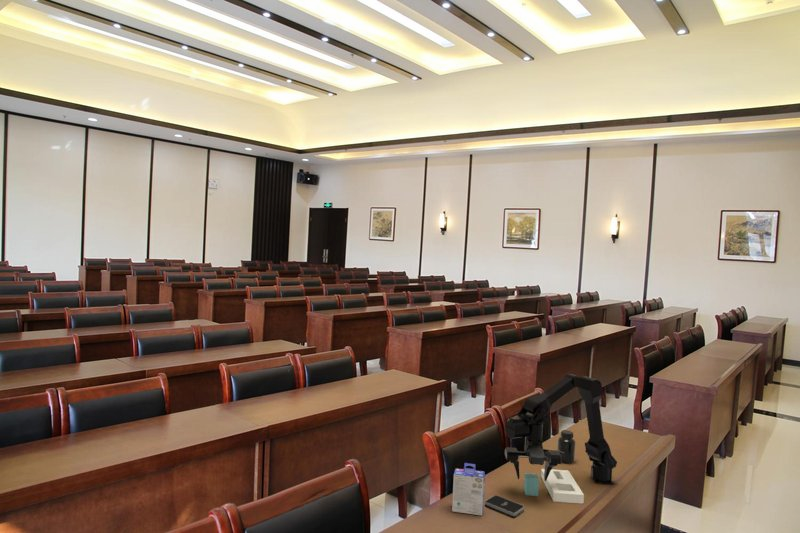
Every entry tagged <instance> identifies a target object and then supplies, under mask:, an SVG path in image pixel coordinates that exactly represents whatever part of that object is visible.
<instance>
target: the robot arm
mask: <svg viewBox="0 0 800 533" xmlns="http://www.w3.org/2000/svg"><path fill="white" fill-rule="evenodd" d="M575 388H577V389H578V393H579V395H580V396H581V398H582V400H583V401H584V405H585V406H584V407H585V412H586V413H585V414H586V420H587V427H588V428H587V429H588V434H589V439H588V441H586V442H584V447H585V452H584V453H586V454H587V457H588V460H589V461H590V462H592V465H591V466H590V477H591V479H592V480H593V481H594V483H596V484H607V485H614V482H613V481H612V478H613V477H612V476H613V469H614V468H616V467H617V465H618V461H617V459H616V458H614V456H613V455H612V451H611V448H610V444H609V443H608V442H607V440H606V439H605V437H604V429H603V421H602V415H601V414H602V413H601V408H600V401H601V400H600V399H601V398H602V396H603V384H602V382H601V381H600V380H598V379H596V378H592V377H589V376H586V375H583V376H581V377H580V376H578V375H575V374H572V373H567V374H566V375H565V376H564V377H563V378H562V379H560V380H559V381H558V382H556V383H555V384H553V385H552V386H551V387H549V388H548V389H547V390H545V391H544V392H541V393H540V394H534V395H531V396H530V397H528V398H526V399H525V400H524V403H523V405H522V407H521V408H520V410H519V412H517V415H516V416H517V417H509V420H508V421H507V422H506V424H505V426H504V431H505V434H506V436H507V437H508V439H511V440H513V439H521V438H524V451H521V450H520V451H519V450H518V449H517V447H511V446H510V447H509V446H506V447H505V449H504V456H505V459H506V461H509V462H510V463H511V464H513V466H514V469H515V473H516V477H517V479H518V480H520V461H519V458H525V459H528V460H529V461H528V463H529V464H530V465H534V466H535V465H539V466H544V469H545V471H544V481H546V480H547V478H548V475H549V473H550V471H551V469H553V468H554V467H558V465H562V457H561V455H560V454H559V452H558V451H557V450H552V449H547V448H546V449H545V448H544V447H543V428H544V424H548V423H549V420H548V419H547V418H546V416H547V414H548V413H549V412H550V410H551V408H552V405H554V404H555V403H556V402H558V401H559V400H560V399H562V398H563V397H564V396H566V395H567V394H568V393H570V392H571V391H572V390H574V389H575ZM544 481H543V482H544Z"/></svg>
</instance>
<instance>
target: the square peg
mask: <svg viewBox="0 0 800 533" xmlns="http://www.w3.org/2000/svg"><path fill="white" fill-rule="evenodd" d="M523 477H524V480H523V492H524V494H525V496H533V497H539V486H540V484H539V483H540V478H539V476H538V474H537V473H531V472H530V473H529V472H524V476H523Z"/></svg>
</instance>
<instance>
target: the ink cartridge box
mask: <svg viewBox="0 0 800 533" xmlns="http://www.w3.org/2000/svg"><path fill="white" fill-rule="evenodd" d="M463 464H464V466H463V468H455V469H454V473H453V478H452V479H453V480H452V481H453V483H452V501H451V502H452V503H451V505H452V507H451V512H454V513H461V514H467V515H476V516H483V514H484V506H485V483H486V482H485V481H486V480H485V479H486V476H485V475H486V474H485V473H486V472H485V471H483V470H476V464H475V463H469V462H464V463H463ZM468 467H469V468H468ZM470 467H472V468H470Z"/></svg>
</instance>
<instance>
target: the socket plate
mask: <svg viewBox="0 0 800 533" xmlns="http://www.w3.org/2000/svg"><path fill="white" fill-rule="evenodd" d="M540 471H541V472H540V477H541V479H542V481H543V484H544V486H545V487H546V489H547V492H548V493H549V495H550V498H551V499H552V502H554V503H556V502H557V503H569V504H579V505H580V504H581V505H583V504H584V502H585V500H584V499H585V494H584V493H583V491H582V490H581V488H580V486H579V484H578V483H577V482H576V480H575V479H574V477H573V476H572V473H571V472H570V471H569V470H567V469H566V470H565V469H564V470H563V469H553V468H552V469H551V471H550V473H549V475H548V478H547V480H546V481H544V471H545V468H541V470H540Z"/></svg>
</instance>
